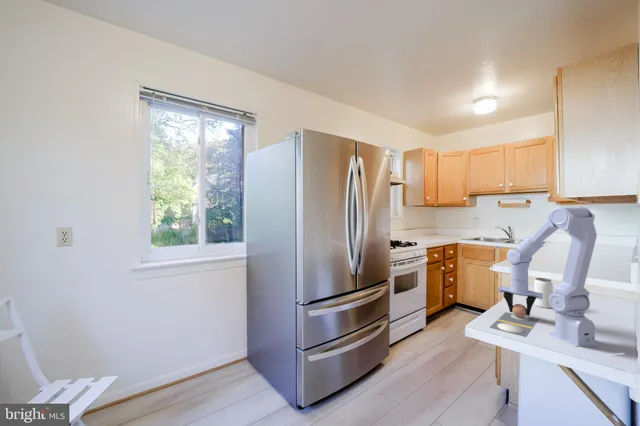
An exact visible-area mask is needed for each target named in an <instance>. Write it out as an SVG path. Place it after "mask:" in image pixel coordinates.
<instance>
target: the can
mask: <svg viewBox="0 0 640 426" xmlns="http://www.w3.org/2000/svg"><path fill="white" fill-rule="evenodd" d="M534 279H535V280H534V283H533V286H534V287H533V288H534V289H533V292H538V293H543V299H539V298H536V300H535V302H534V303H533V304H534V305H535V306H536V307H538V308H540V309H541V308H542V309H553V308H552V307H551V305H550V303H549V297H550V295H551V294H552V293H553V292H554V290H553V289H554V287H553V285H554V284H553V282H552V280H551V279H549V278H544V277H536V278H534Z"/></svg>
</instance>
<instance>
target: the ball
mask: <svg viewBox="0 0 640 426" xmlns="http://www.w3.org/2000/svg"><path fill="white" fill-rule="evenodd" d="M511 313H512V314H515V315H516V316H518V317H525V316H526V317H527V306H525V305H524V304H521V303H516V304H513V307H512V312H511Z"/></svg>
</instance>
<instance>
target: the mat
mask: <svg viewBox="0 0 640 426" xmlns="http://www.w3.org/2000/svg"><path fill="white" fill-rule="evenodd" d="M538 321H539V318H536V317H535V318H534V317H529V316H527V315H526V316H525V317H518V316H516V315H515V314H514V313H513V312H507V311H505V312H504V313H503V314H502V315H501V316H500V317H499V318H498V319H496V321H494V322H493V323H492V324H491V325H490V326H489V329H493V330H497V331H501V332H505V333H509V334H513V335H517V336H520V337H524V338H527V336H528V335H529V333H530V332H531V330H532V329H533V328H534V326H535V325H536V323H537V322H538ZM500 323H507V324H513V325H516V326H519V327H521V328H523V329H524V332H522V333H512V332H507V331H504V330H501V329H499V328H498V327H497V325H498V324H500Z"/></svg>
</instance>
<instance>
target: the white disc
mask: <svg viewBox="0 0 640 426" xmlns="http://www.w3.org/2000/svg"><path fill="white" fill-rule="evenodd" d="M497 327H498V328H499V329H501V330H504V331H507V332H506V333H508V332H512V333H522V332H524V329H523V328H521V327H519V326H516V325H513V324H507V323H500V324H498V325H497ZM504 331H503V332H504ZM512 333H511V334H512Z"/></svg>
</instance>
